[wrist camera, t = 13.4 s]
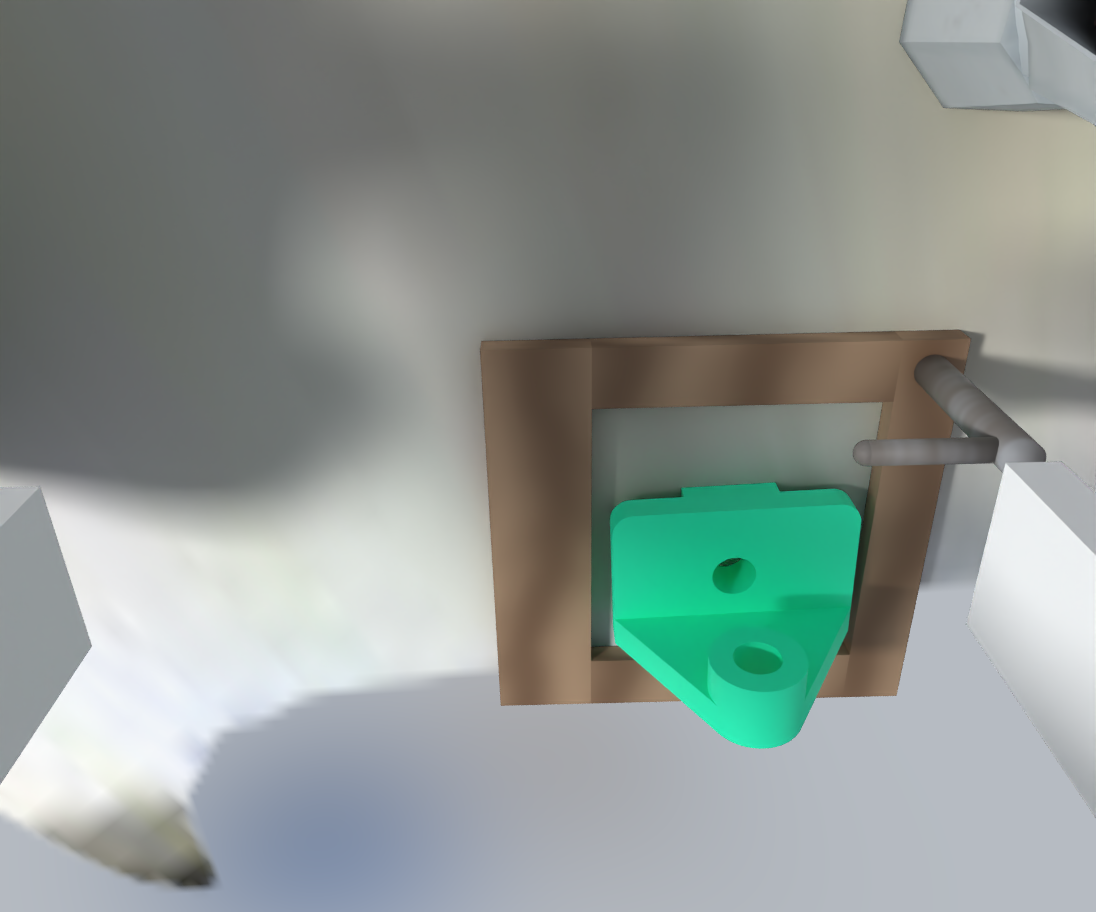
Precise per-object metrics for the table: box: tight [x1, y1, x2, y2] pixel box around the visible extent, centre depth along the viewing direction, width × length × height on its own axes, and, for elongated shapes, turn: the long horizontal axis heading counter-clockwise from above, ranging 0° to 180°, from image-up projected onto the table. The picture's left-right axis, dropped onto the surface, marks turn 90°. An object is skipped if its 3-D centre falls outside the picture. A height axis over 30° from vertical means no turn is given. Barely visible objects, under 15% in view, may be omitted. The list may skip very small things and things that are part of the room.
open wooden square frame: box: [480, 330, 1046, 706], centre depth 42 cm, size 22×21×10 cm
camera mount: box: [610, 482, 861, 749], centre depth 43 cm, size 12×8×10 cm, turn 93°
